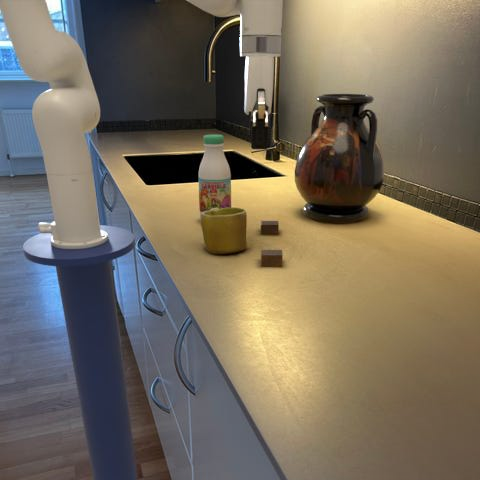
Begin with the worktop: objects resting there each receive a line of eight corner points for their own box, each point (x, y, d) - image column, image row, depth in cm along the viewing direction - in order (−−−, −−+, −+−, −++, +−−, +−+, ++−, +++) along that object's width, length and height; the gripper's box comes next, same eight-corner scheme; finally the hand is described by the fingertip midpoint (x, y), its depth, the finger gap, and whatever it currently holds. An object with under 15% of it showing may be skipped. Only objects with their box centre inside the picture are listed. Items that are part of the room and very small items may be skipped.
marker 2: (261, 266, 98) (261, 254, 97) (261, 261, 100) (261, 249, 99) (282, 266, 98) (282, 255, 97) (281, 261, 100) (281, 249, 99)
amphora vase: (396, 217, 128) (413, 95, 115) (339, 233, 116) (350, 100, 103) (332, 200, 143) (340, 91, 130) (275, 213, 131) (278, 95, 118)
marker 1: (260, 234, 116) (260, 224, 114) (260, 230, 118) (260, 220, 117) (278, 234, 115) (278, 224, 114) (277, 230, 118) (278, 220, 117)
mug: (260, 247, 102) (243, 199, 99) (212, 265, 102) (194, 217, 99) (252, 240, 114) (237, 196, 111) (209, 256, 113) (192, 213, 110)
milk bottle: (197, 217, 128) (194, 133, 119) (228, 216, 129) (227, 132, 120) (202, 226, 121) (199, 138, 112) (234, 224, 123) (233, 137, 113)
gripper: (239, 48, 102) (238, 138, 109) (241, 46, 86) (240, 152, 94) (277, 48, 102) (273, 139, 110) (285, 47, 86) (280, 152, 94)
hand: (258, 145), depth 102 cm, fingers open, 9 cm apart
